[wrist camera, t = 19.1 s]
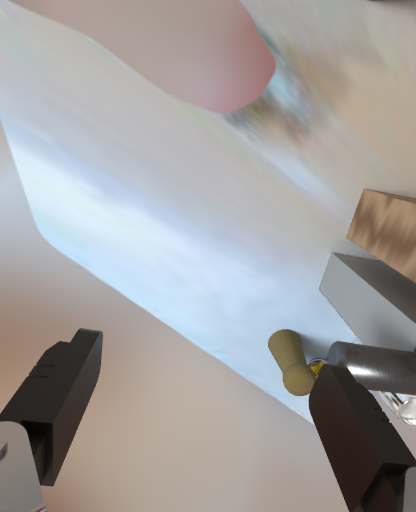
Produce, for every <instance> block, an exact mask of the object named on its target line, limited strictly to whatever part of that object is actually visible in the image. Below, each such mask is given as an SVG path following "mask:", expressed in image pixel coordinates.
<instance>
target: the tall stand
mask: <svg viewBox="0 0 416 512" xmlns="http://www.w3.org/2000/svg"><path fill="white" fill-rule="evenodd" d="M346 238H348V239H350V240H351V241H353V242H354V243H356V244H357V245H359V246H360V247H362V248H363V249H365V250H366V251H368V252H369V253H371V254H372V255H374V256H375V257H377V258H378V259H380V260H381V261H383V262H384V263H386V264H387V265H389V266H390V267H392V268H393V269H395V270H396V271H398V272H399V273H401V274H402V275H404V276H405V277H407V278H408V279H410V280H411V281H413V282H415V283H416V199H415V198H409V197H404V196H399V195H394V194H388V193H383V192H378V191H373V190H367V189H364V190H363V193H362V195H361V198H360V201H359V204H358V206H357V209H356V212H355V215H354V217H353V220H352V223H351V226H350V228H349V231H348V234H347V237H346Z"/></svg>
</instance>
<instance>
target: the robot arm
mask: <svg viewBox="0 0 416 512" xmlns="http://www.w3.org/2000/svg"><path fill="white" fill-rule="evenodd" d="M102 341H103V332H102V331H96V330H90V329H83V328H80V329H79V330H78V331H77V333H76V334H75V336H74V337H73V339H72V340H71V342H70V343H69V342H62V341H59V342H58V343H56V344H55V345H53V346H52V347H51V348H49V349H48V350H46V351H45V352H44V354H43V355H42V357H41V358H40V359H39V361H38V362H37V365H36V366H34V368H33V369H32V371H31V372H30V373H29V376H28V377H26V379H25V380H24V382H23V383H22V384H21V386H20V387H19V389H18V390H17V391H16V393H15V394H14V396H13V397H12V398H11V400H10V401H9V402H8V404H7V405H6V407H5V408H4V410H3V411H2V412H1V413H0V512H47V510H46V507H45V503H44V499H43V495H42V491H41V487H40V486H41V485H44V486H54V483H55V481H56V479H57V476H58V474H59V471H60V469H61V466H62V464H63V462H64V460H65V457H66V454H67V452H68V450H69V448H70V445H71V443H72V441H73V438H74V436H75V433H76V431H77V429H78V426H79V424H80V422H81V419H82V416H83V414H84V412H85V410H86V407H87V405H88V403H89V400H90V398H91V395H92V393H93V391H94V388H95V386H96V383H97V380H98V377H99V373H100V367H101V355H102ZM309 410H310V413H311V416H312V418H313V421H314V423H315V426H316V429H317V431H318V433H319V436H320V439H321V441H322V444H323V446H324V449H325V451H326V454H327V456H328V459H329V461H330V464H331V466H332V469H333V472H334V474H335V477H336V479H337V482H338V484H339V487H340V489H341V492H342V494H343V497H344V500H345V502H346V505H347V507H348V510H349V512H416V459H415V458H414V456H413V455H412V453H411V452H410V451H409V449H408V447H407V446H406V445H405V443H404V441H403V440H402V438H401V437H400V435H399V434H398V432H397V431H396V429H395V428H394V426H393V425H392V423H390V422H389V419H388V417H387V416H386V414H385V413H384V412H383V411H382V408H381V407H380V405H379V404H378V402H377V401H376V399H375V398H374V396H373V395H372V394H371V393H370V392H369V391H368V390H367V389H366V388H365V387H364V386H363V385H362V384H360V383H357V382H356V380H355V378H354V377H353V375H352V374H351V372H350V370H349V369H348V368H347V367H345V366H339V365H332V364H323V365H322V367H321V369H320V371H319V373H318V376H317V378H316V380H315V383H314V385H313V388H312V390H311V392H310V395H309Z"/></svg>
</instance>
